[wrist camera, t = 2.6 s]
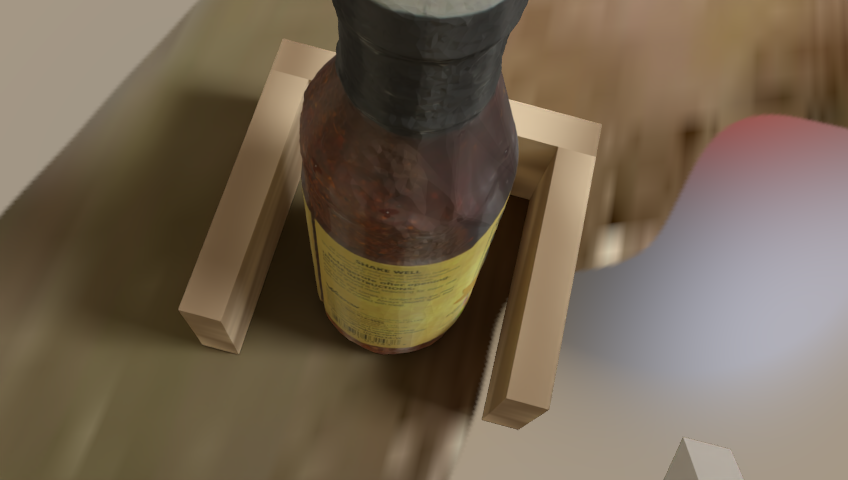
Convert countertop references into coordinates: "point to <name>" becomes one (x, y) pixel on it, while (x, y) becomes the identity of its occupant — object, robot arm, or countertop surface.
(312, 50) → the wooden u-shaped frame
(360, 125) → the sauce bottle
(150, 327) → the countertop surface
